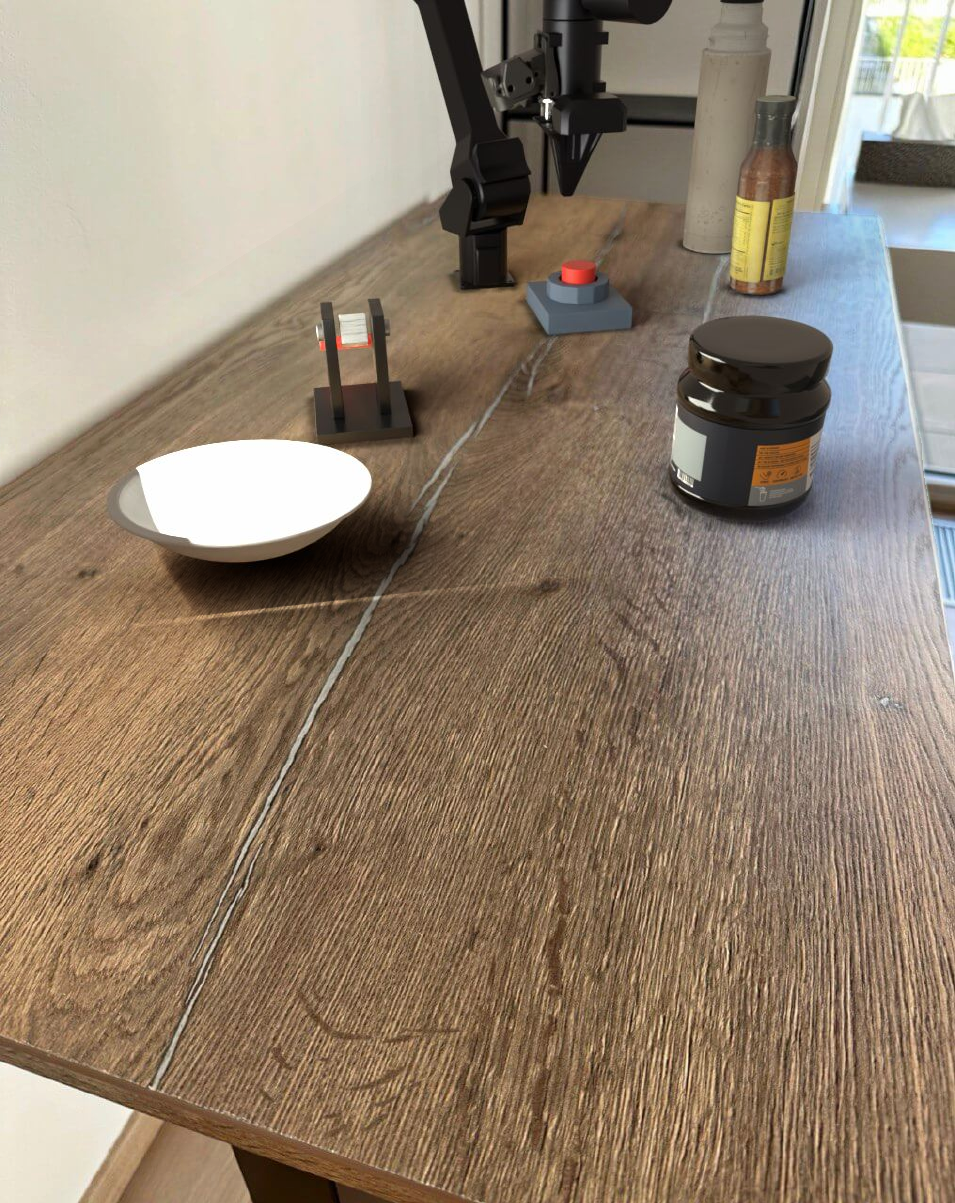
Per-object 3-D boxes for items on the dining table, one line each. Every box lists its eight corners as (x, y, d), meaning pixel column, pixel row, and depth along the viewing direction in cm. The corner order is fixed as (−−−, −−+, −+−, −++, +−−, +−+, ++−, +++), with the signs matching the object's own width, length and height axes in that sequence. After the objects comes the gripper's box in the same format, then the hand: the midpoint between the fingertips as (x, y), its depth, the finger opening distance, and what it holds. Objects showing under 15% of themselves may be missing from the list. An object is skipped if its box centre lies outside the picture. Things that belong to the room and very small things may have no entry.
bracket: (314, 399, 88) (301, 293, 82) (401, 392, 89) (394, 286, 83) (318, 448, 80) (303, 333, 74) (413, 439, 81) (406, 325, 75)
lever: (321, 357, 91) (318, 331, 90) (384, 352, 91) (382, 327, 91) (318, 346, 78) (314, 315, 77) (391, 340, 79) (388, 310, 78)
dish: (92, 610, 61) (71, 545, 58) (157, 499, 73) (143, 440, 70) (365, 609, 61) (358, 542, 58) (387, 497, 73) (382, 437, 70)
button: (558, 277, 104) (558, 261, 103) (590, 275, 104) (590, 258, 103) (565, 287, 101) (566, 271, 100) (599, 285, 101) (599, 268, 100)
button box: (526, 301, 109) (526, 265, 106) (603, 295, 110) (605, 260, 107) (547, 335, 100) (548, 297, 97) (631, 328, 101) (634, 290, 99)
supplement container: (839, 511, 69) (876, 352, 62) (713, 541, 67) (737, 378, 60) (756, 450, 78) (780, 304, 71) (641, 474, 75) (654, 324, 68)
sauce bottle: (778, 280, 113) (808, 92, 101) (786, 298, 108) (819, 101, 96) (721, 280, 113) (745, 92, 102) (727, 297, 108) (753, 102, 97)
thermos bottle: (737, 236, 128) (770, -11, 112) (750, 253, 122) (787, -6, 106) (678, 237, 129) (702, -9, 112) (688, 254, 122) (715, -4, 106)
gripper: (470, 13, 95) (473, 180, 104) (507, 31, 80) (507, 224, 89) (578, 9, 97) (572, 174, 106) (635, 26, 82) (622, 216, 91)
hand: (566, 195), depth 98 cm, fingers closed
